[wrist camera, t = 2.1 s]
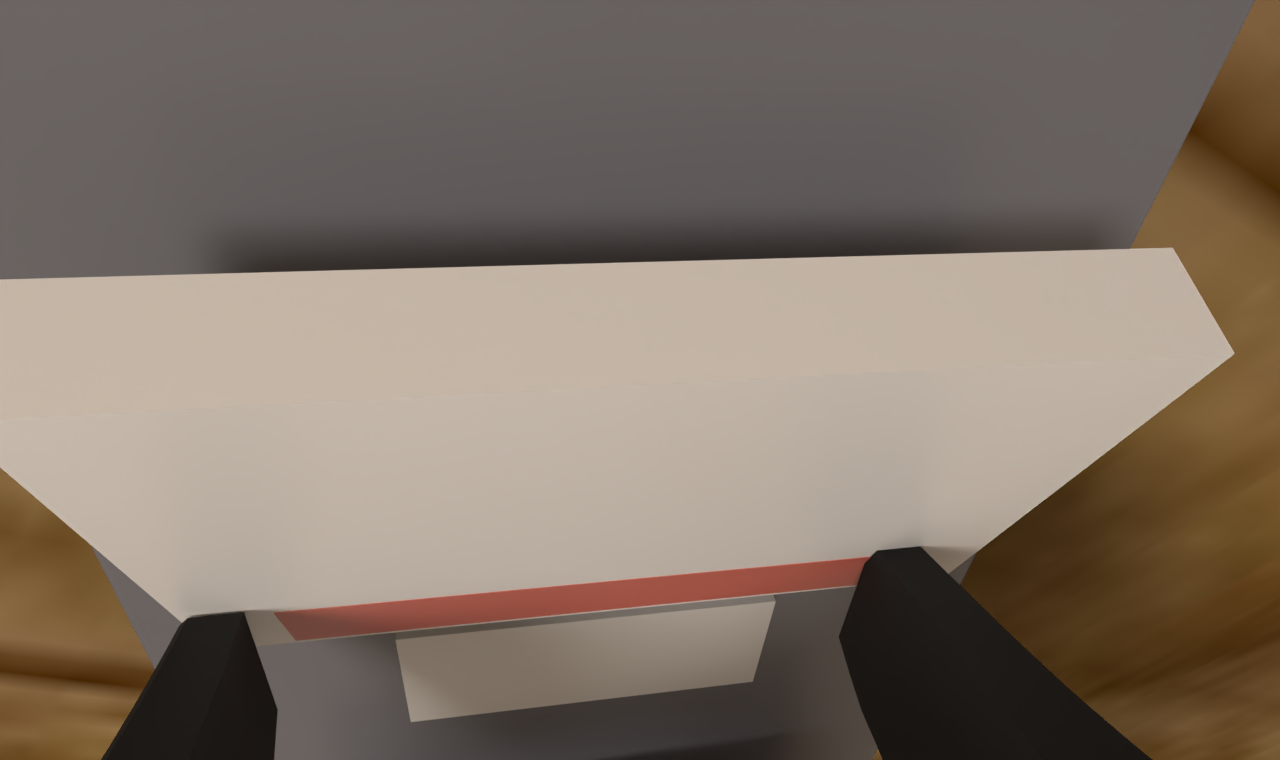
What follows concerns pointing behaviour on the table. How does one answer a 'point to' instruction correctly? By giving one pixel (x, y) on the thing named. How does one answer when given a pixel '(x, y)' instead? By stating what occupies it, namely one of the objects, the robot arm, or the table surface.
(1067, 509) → the table surface
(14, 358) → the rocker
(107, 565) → the rocker switch panel
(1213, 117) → the table surface
